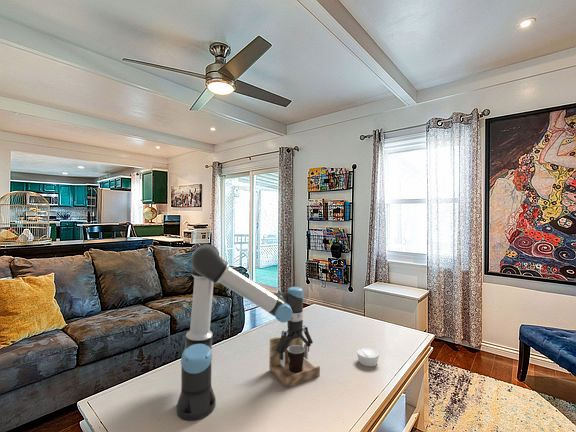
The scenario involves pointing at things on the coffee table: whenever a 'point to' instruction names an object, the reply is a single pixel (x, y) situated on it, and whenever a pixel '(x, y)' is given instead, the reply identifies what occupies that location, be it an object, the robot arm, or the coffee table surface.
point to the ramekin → (368, 356)
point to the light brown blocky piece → (283, 372)
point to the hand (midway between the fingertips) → (294, 361)
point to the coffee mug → (295, 358)
